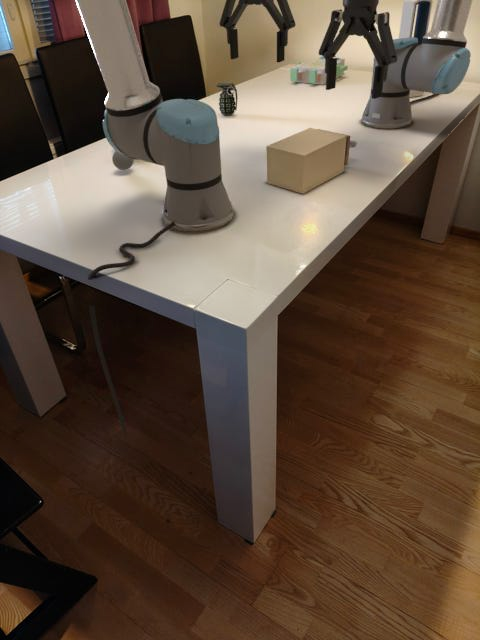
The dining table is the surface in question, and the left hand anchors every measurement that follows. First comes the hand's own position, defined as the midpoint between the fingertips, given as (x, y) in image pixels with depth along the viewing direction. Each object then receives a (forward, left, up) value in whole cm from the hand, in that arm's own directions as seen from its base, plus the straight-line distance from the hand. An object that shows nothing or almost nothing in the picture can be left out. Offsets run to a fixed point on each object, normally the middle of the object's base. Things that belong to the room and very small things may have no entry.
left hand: (257, 60), depth 125 cm
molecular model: (-14, +29, -24) cm, 40 cm away
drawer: (-6, -21, -23) cm, 32 cm away
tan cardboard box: (-13, -19, -24) cm, 33 cm away
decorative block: (+90, +17, -24) cm, 94 cm away
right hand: (-3, -27, -6) cm, 27 cm away
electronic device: (+73, -23, -24) cm, 80 cm away
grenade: (+29, +26, -24) cm, 46 cm away
